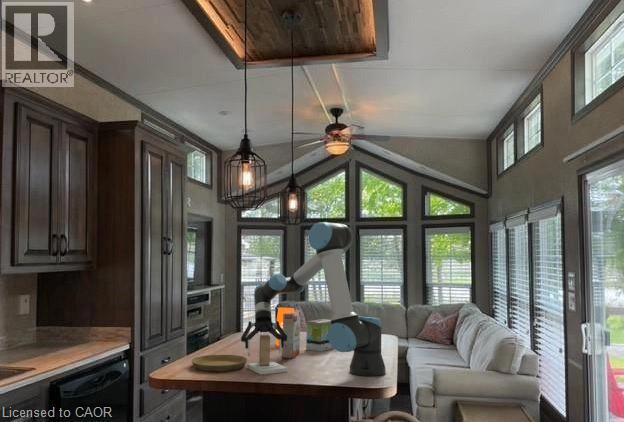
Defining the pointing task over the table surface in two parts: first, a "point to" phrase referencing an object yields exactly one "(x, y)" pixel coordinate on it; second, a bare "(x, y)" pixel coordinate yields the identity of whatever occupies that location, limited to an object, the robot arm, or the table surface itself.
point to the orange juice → (281, 318)
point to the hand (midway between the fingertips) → (264, 354)
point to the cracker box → (291, 334)
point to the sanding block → (264, 350)
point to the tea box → (318, 335)
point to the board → (267, 368)
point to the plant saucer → (219, 362)
